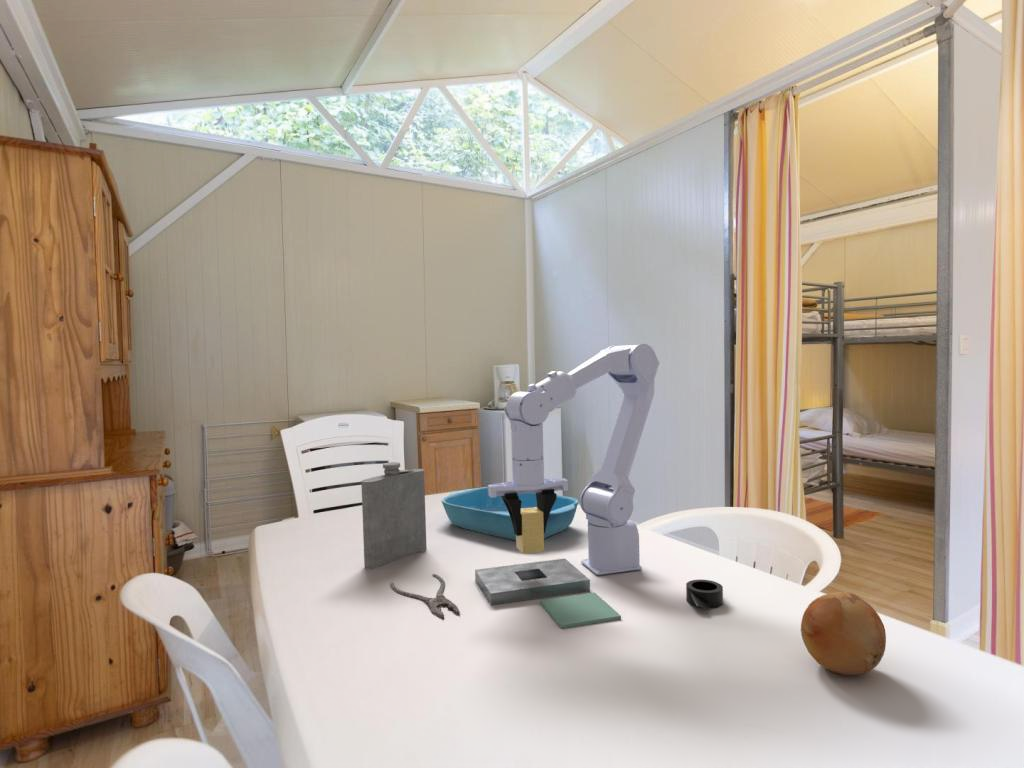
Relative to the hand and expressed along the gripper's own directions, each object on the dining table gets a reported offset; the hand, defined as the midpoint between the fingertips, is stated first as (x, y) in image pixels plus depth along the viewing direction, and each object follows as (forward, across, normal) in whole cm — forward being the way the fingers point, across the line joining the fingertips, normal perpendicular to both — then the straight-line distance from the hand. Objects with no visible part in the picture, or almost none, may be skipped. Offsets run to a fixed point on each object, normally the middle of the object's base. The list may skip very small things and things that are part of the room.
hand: (529, 532), depth 108 cm
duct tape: (+10, -25, +16) cm, 32 cm away
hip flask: (+10, +22, -25) cm, 35 cm away
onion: (+10, -29, +41) cm, 51 cm away
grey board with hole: (+10, 0, 0) cm, 10 cm away
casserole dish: (+10, -7, -39) cm, 41 cm away
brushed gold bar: (+3, 0, 0) cm, 3 cm away
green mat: (+10, -4, +13) cm, 17 cm away
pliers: (+10, +17, -2) cm, 20 cm away
